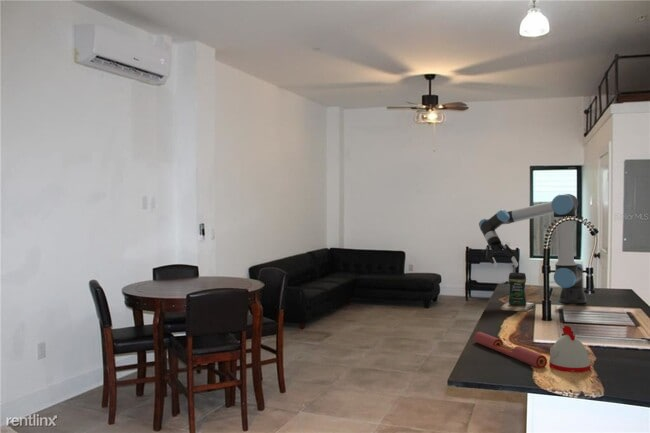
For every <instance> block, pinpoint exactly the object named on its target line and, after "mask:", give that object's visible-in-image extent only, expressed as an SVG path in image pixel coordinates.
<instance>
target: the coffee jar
mask: <svg viewBox="0 0 650 433" xmlns="http://www.w3.org/2000/svg"><path fill="white" fill-rule="evenodd" d="M508 274H509V275H508V282H509V296H508V302H509V304H510V305H519V306H523V305H526V303H527V296H526V295H527V294H526V282H527V276H526V273H525V272H510V273H508Z"/></svg>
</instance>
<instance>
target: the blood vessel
mask: <svg viewBox="0 0 650 433" xmlns="http://www.w3.org/2000/svg"><path fill="white" fill-rule="evenodd" d="M473 336H474V337H473V340H474V342H475V343H477V344H479V345H482V346H484V347H487V348H489V349H490V350H493V351H496V352H499V353H501V354H504V355H506V356H508V357H511V358H512V359H516V360H518V361H520V362H523V363H524V364H527V365H530V366H533V367H535V368H537V369H543V368H545V367H546V366H547V364H548V359H547V357H546V356H545V355H543V354H541V353H538V352H535V351H532V350H530V349H527V348H525V347H522V346H519V345H517V346H515V347H514V348H513V347H511V346H508V345H505V344H504V342H503V340H502V339H500V338H498V337H495V336H493V335H490V334H487V333H484V332H482V331H477V332H475V334H474V335H473Z"/></svg>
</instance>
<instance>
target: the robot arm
mask: <svg viewBox="0 0 650 433" xmlns="http://www.w3.org/2000/svg"><path fill="white" fill-rule="evenodd" d="M578 207H579V200H578V198H577V197H576V196H575V195H573V194H571V193H561V194H560V193H559V194H557V195H556V196H554V197H553V199H552V200H551V201H548V202H544V203H538V204H535V205H530V206H526V207H522V208H518V209H517V208H516V209H514V210H510V211H506V209H503V208H502V209H500V210H499V211H497V212H496V213H495V214H494V215H493V216H490V218H483V219H481V220H480V221H479V222H478V226H479V230H480V231H481V233H482V235H483V237H484V239H485V240H486V242H487V245H486V246H485V250H486V252H485V259H486V260H488V261H489V262H490V263H491V264H492V265H493V268H494V269H498V266H499V265H498V263H497V261H496V259H495V257H493V256H494V254H495V253H497V254H498V253H501V254H504V255H506V256H507V257H509V258H511V262H512V264H513V265H514V267H515V268H518V266H519V263H518V259H517V256H518V253H516V251H514V250H513V249H511V247H509V245H508V244H507V243H505V244H504V245H503V244H502V241H501V239H500V238H499V235H498V233H497V232H496V230H497V229H498V228H499V227H501V226H502V225H508V224H509V225H510V224H513V223H517V222H521V221H525V220H530V219H531V220H532V219H536V218H540V217H544V216H548V215H549V216H550V215H553V218H554V220H556V221H557V220H558V219H560V218H563V217H566V216H575V217H576V210H577V209H578ZM573 221H574V220H573ZM573 221H566V222H563V223H561V224H559V225H558V226H557V225H556V242H557V262H555V265H554V266H555V268H554V269H555V272H553V273H554V274H553V282H555V284H556V285H557V286H559V287H560V288H561V290H560V294H559V296H558V301H559V302H560V303H564V304H565V303H566V304H584V303H585V304H586V303H587V296H586V294H585V291H584V284H583V283H584V280H583V277H584V275H583V273H584V272H583V270H584V268H583V264H581V263H577V262H575V259H574V257H575V253H574V251H575V250H574V223H573ZM490 250H491V251H492V252H491V253H490Z"/></svg>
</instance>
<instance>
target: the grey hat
mask: <svg viewBox="0 0 650 433" xmlns="http://www.w3.org/2000/svg"><path fill="white" fill-rule="evenodd" d="M562 333H563V335H562V336H561V337H559V338H558V339H557V340H556V341H555V342H554V344H553V346H551V347H550V349H549V350H550V351H549V363H548V365H549V367H550V368H551V369H553V370H557V371H560V372H561V371H562V372H565V373H568V372H569V373H583V372H588V371H590V369H591V361H590V354H589V353H590V352H589V349H586V347H585V345H584V344H583V343H582V341H581V340H580V339H578V337H576V334H574V330H572V326H569V325H564V326H563V327H562Z"/></svg>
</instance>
